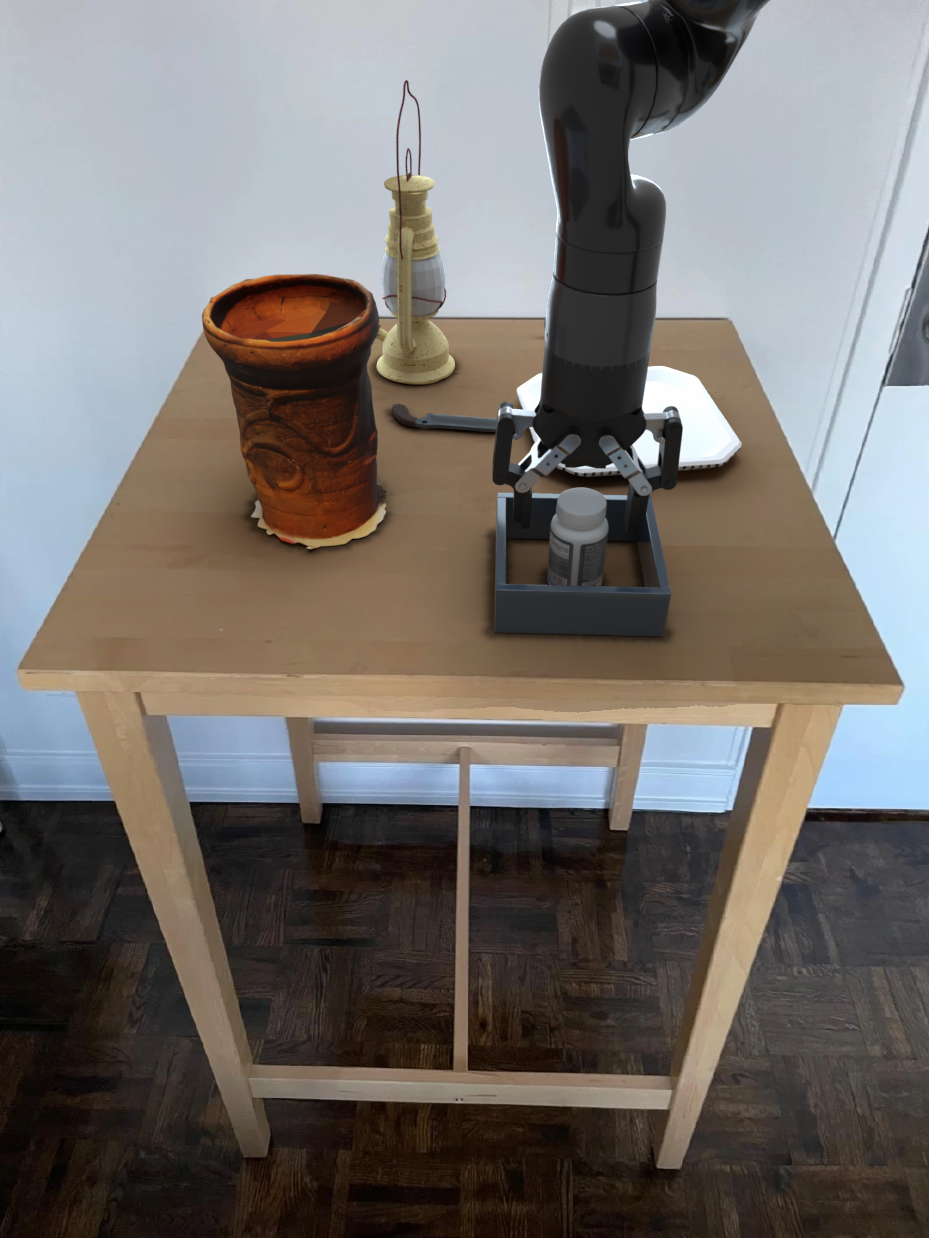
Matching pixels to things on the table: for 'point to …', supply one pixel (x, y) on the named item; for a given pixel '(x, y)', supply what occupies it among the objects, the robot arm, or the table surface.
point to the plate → (700, 417)
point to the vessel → (303, 401)
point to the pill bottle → (578, 539)
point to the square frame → (581, 604)
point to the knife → (444, 420)
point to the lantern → (412, 281)
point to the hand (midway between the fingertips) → (577, 525)
